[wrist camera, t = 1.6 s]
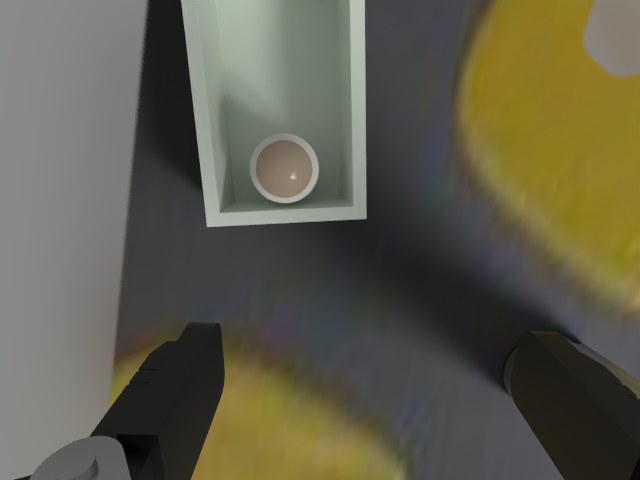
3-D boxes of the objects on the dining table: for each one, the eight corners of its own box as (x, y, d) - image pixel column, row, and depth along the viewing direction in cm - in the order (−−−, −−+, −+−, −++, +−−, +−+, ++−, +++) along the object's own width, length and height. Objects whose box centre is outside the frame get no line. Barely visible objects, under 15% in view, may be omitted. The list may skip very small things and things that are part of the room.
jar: (312, 136, 33) (318, 131, 25) (315, 191, 34) (320, 203, 26) (257, 138, 32) (245, 134, 25) (261, 194, 34) (251, 206, 26)
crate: (346, -31, 31) (363, -92, 23) (350, 204, 35) (366, 218, 28) (202, -29, 30) (170, -92, 22) (226, 210, 35) (207, 226, 27)
